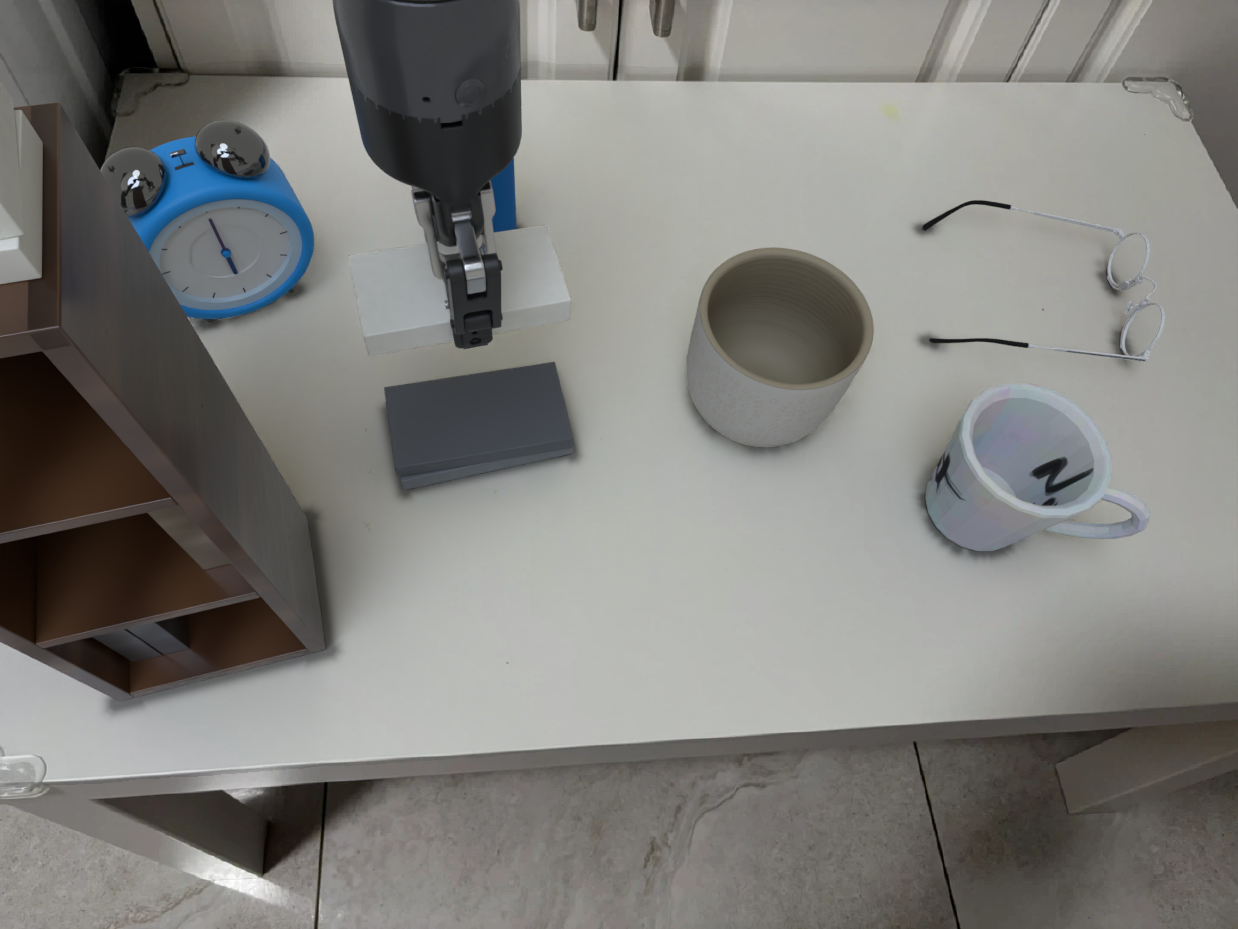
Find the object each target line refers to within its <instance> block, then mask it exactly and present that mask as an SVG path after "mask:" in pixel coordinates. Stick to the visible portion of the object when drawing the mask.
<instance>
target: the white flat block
mask: <svg viewBox="0 0 1238 929" xmlns="http://www.w3.org/2000/svg"><path fill="white" fill-rule="evenodd" d="M494 238H495V245H496V252H497V256H498V259H499V260H501V262H502V268H503V270H501V312H502V317H503V320H501V327H499V328H492V335H498V334H502V333H507V332H513V331H520V330H524V329H529V328H535V327H540V326H546V325H552V324H557V323H563V322H568V321H569V322H570V320H571V312H572V311H571V309H572V298H571V295H570V292H569V291H570V290H569V288H568V285H567V282H566V279H565V277H564V273H563V270H562V267H561V264H560V260H559V259H558V255H557V252H556V249H555V246H554V243H553V239H552V238H551V234H550V231H549V228H548V225H547V224H540V225H534V226H533V225H532V226H527V227H522V228H521V227H520V228H517V229H514V230H508V231H502V232H495V233H494ZM437 243H438V249H439V252H440V253H441V254H444V255H449V254H455V253H458V250H457V246H455V247H446V246H444V245H442V244H441V243H439V241H438V242H437ZM477 243H478V247H479V248H480V247H481V245H482V235H480V236H479V238H478V239H477ZM347 262H348V267H349V273H350V277H351V283H352V288H353V292H354V293H353V294H354V297H355V303H356V307H357V308H356V309H357V312H358V313H357V314H358V318H359V323H360V329H361V334H362V338H363V342H364V345H365V348H366V351H367V356H368V357H376V356H381V355H386V354H391V353H392V354H393V353H398V352H403V351H409V350H413V349H420V348H426V347H430V346H431V347H432V346H436V345H442V344H448V343H453V342H454V339H453V333H452V329H451V325H450V314H449V310H448V309H447V310H446V308H445V303H444V300H446V295H445V290H444V284H443V280H441V279H438V278H436V277H435V276H434V274H433V271H432V268H431V265H430V261H429V256H428V250H427V245H426V242H425V243H419V244H413V245H408V246H401V247H394V248H387V249H381V250H374V251H369V252H362V253H356V254H355V253H354V254H350V255H347Z"/></svg>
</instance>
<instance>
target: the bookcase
mask: <svg viewBox="0 0 1238 929" xmlns="http://www.w3.org/2000/svg"><path fill="white" fill-rule="evenodd" d="M14 110H22V111H23V113H24V115H25V116H26V118H27V119H28V121H29V122H30V124H31V125H32V127H33V128H34V130H35V132H36V133H37V135H38V136H39V138H40V139H41V141H42V142H43V188H42V277H41V278H38V279H32V280H26V281H19V282H13V283H6V284H0V643H1V644H3V645H5V646H7V647H9V648H11V649H14V650H15V651H17V652H19V653H21V654H24V655H26V656H28V657H29V658H31V659H34V660H35V661H37V662H39V663H41V664H43V665H45V666H48V667H49V668H51V669H54V670H55V671H58V673H59V672H60V673H61V674H63V675H65V676H68V677H70V678H71V679H72V680H73V679H74V680H76V681H78V682H80V683H82V684H84V685H86V686H87V687H90V688H91V689H94V690H96V691H97V692H100V693H101V694H103V695H105V696H107V697H110V698H111V699H114V700H116V701H117V702H123V701H126V700H131V699H134V698H139V697H142V696H147V695H151V694H155V693H158V692H162V691H167V690H170V689H175V688H178V687H182V686H186V685H190V684H194V683H195V684H196V683H199V682H202V681H206V680H210V679H214V678H215V679H216V678H219V677H223V676H226V675H229V674H230V675H231V674H234V673H238V672H242V671H247V670H250V669H255V668H259V667H262V666H266V665H270V664H275V663H279V662H282V661H286V660H291V659H295V658H298V657H302V656H306V655H310V654H314V653H319V652H322V651H325V650H326V649H327V646H326V639H325V633H324V626H323V617H322V612H321V604H320V598H319V589H318V583H317V574H316V568H315V562H314V555H313V547H312V540H311V533H310V525H309V519H308V517H307V515H306V513H305V511H304V510H303V509H302V507H301V505H300V503H299V502H298V500H297V498H296V497H295V495H294V494H293V492H292V490H291V489H290V487H289V485H288V483H287V482H286V480H285V478H284V476H283V475H282V473H281V472H280V470H279V468H278V466H277V465H276V464H275V461H274V460H273V458H272V456H271V454H270V453H269V452H268V451H269V450H267V448H266V446H265V444H264V443H263V441H262V440H261V438H260V436H259V434H258V433H257V431H256V430H255V428H254V426H253V425H252V423H251V421H250V420H249V418H248V416H247V415H246V413H245V411H244V410H243V408H242V407H241V404H240V403H239V401H238V399H237V398H236V396H235V394H234V393H233V391H232V389H231V388H230V386H229V383H228V382H227V381H226V379H225V378H224V376H223V374H222V372H221V371H220V369H219V368H218V366H217V364H216V363H215V361H214V359H213V357H212V356H211V354H210V353H209V351H208V349H207V348H206V345H205V344H204V342H203V341H202V339H201V338H200V336H199V334H198V332H197V331H196V329H195V327H194V326H193V324H192V322H191V320H190V319H189V317H187V316H186V314H185V312H184V311H183V309H182V307H181V306H180V304H179V302H178V300H177V299H176V297H175V295H174V294H173V292H172V290H171V289H170V287H169V285H168V284H167V282H166V280H165V279H164V277H163V275H162V274H161V272H160V270H159V269H158V267H157V265H156V264H155V262H154V260H153V259H152V257H151V255H150V254H149V252H148V250H147V248H146V247H145V245H144V243H143V242H142V240H141V238H140V237H139V235H138V233H137V232H136V230H135V228H134V227H133V225H132V223H131V222H130V220H129V218H128V217H127V215H126V213H125V212H124V210H123V208H122V207H121V205H120V203H119V201H118V200H117V198H116V196H115V195H114V193H113V191H112V190H111V188H110V186H109V185H108V183H107V181H106V180H105V178H104V176H103V175H102V173H101V171H100V170H101V169H100V168H99V166H98V164H97V163H96V162H95V160H94V157H93V156H92V154H91V153H90V151H89V149H88V147H87V146H86V144H85V142H84V141H83V140H82V138H81V136H80V135H79V132H78V131H77V129H76V127H75V126H74V124H73V122H72V120H71V119H70V117H69V116H68V114H67V113H66V111H65V109H64V107H63V105H62V104H61V102H59V101H55V102H46V103H38V104H37V103H36V104H30V105H21V106H14Z"/></svg>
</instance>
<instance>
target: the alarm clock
mask: <svg viewBox="0 0 1238 929" xmlns="http://www.w3.org/2000/svg"><path fill="white" fill-rule="evenodd" d="M99 170H100V171H101V173H102V175H103V176H104V178H105V180H106V181H107V183H108V185H109V186H110V188H111V190H112V191H113V193H114V195H115V196H116V198H117V200H118V201H119V203H120V205H121V207H122V208H123V210H124V212H125V213H126V215H127V217H128V218H129V220H130V222H131V223H132V225H133V227H134V228H135V230H136V232H137V233H138V235H139V237H140V238H141V240H142V242H143V243H144V245H145V247H146V248H147V250H148V252H149V254H150V255H151V257H152V259H153V260H154V262H155V264H156V265H157V267H158V269H159V270H160V272H161V274H162V275H163V277H164V279H165V280H166V282H167V284H168V285H169V287H170V289H171V290H172V292H173V294H174V295H175V297H176V299H177V300H178V302H179V304H180V306H181V307H182V309H183V311H184V312H185V314H186V316H187V317H188V318H191V319H196V320H207V323H208V324H212V323H213V321H214V320H223V319H230V318H235V317H240V316H243V315H247V314H250V313H253V312H256V311H259V310H261V309H264V308H265V307H267V306H269V305H271V304H273V303H274V302H276V301H278V300H279V299H281V298H282V297H284V296H285V295H286V294H287V293H290V294H293V293H294V292H295V290H294V289H293V288H294V287H295V286H296V285H297V284H298V283H299V282H300V280H301V279H302V278H303V277H304V275H305V273H306V272H307V270H308V268H309V267H310V264H311V261H312V259H313V255H314V253H315V252H314V251H315V233H314V229H313V225H312V223H311V220H310V218H309V216H308V214H307V212H306V211H305V209H304V207H303V205H302V203H301V202H300V200H299V198H298V196H297V194H296V192H295V191H294V189H293V187H292V185H291V183H290V182H289V180H288V178H287V176H286V175H285V173H284V171H283V170H282V168H281V167H280V165H279V164H277V162H276V161H275V160H274V158H272V157H271V153H270V150H269V147H268V145H267V142H266V141H265V139H264V138H262V136H261V135H260V134H259V133H258V132H257V131H255V130H254V129H253V128H251V127H249V126H248V125H246V124H244V123H242V122H238V121H235V120H230V119H218V120H212V121H210V122H208V123H206V124H204V125H203V126H202V127H201V128H200V129H199V131H198V132H197V134H196V136H188V137H182V138H179V139H175V140H171V141H168V142H165V143H162V144H160V145H158V146H156V147H153V148H151V149H149V148H146V147H141V146H126V147H123V148H120V149H118V150H116V151H114V152H113V153H111V154H110V155H109V156H108V157H107V158H106V159H105V161H104V162H103V163H102V165H101V167H100V169H99Z"/></svg>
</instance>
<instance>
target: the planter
mask: <svg viewBox="0 0 1238 929" xmlns="http://www.w3.org/2000/svg"><path fill="white" fill-rule="evenodd" d="M874 327H875V326H874V318H873V315H872V311H871V308H870V305H869V303H868V301H867V300H866V297H865V295H864V294H863V292H862V291H861V289H860V288H859V287H858V285H857V284H856V283H855V282H854V281H853V280H852V279H851V278H850V277H849V276H848V275H847V274H846V273H844V272H843V271H842V270H841V269H839V268H838V267H837V266H835V265H834V264H832V263H830V262H829V261H826V260H825V259H824V258H821V257H819V256H816V255H814V254H812V253H808V252H805V251H802V250H797V249H794V248H793V249H792V248H788V247H787V248H785V247H761V248H755V249H751V250H746V251H743V252H741V253H738V254H736V255H733V256H731V257H730V258H728V259H727V260H725V261H724V262H722V263H721V264H720V265H718V266H717V267H716V268H715V269H714V270H713V271H712V272H711V274H710V275H709V276H708V278H707V279H706V281H705V282H704V285H703V287H702V290H701V292H700V296H699V300H698V304H697V308H696V312H695V317H694V321H693V325H692V328H691V332H690V336H689V337H690V338H689V342H688V347H687V353H686V361H685V363H686V364H685V375H686V376H685V377H686V383H687V388H688V391H689V392H688V393H689V395H690V397H691V400H692V402H693V404H694V406H695V408H696V411H697V412H698V413H699V415H700V416H701V417H702V418H703V420H704V421H705V422H706V423H707V424H708V425H709V426H710V427H711V428H712V429H714V430H715V431H716V432H718V434H720V435H722V436H724V437H725V438H727V439H728V440H731V441H733V442H735V443H739V444H741V445H745V446H749V447H756V448H775V447H781V446H785V445H790V444H792V443H795V442H797V441H799V440H801V439H803V438H806V437H807V436H808V435H810V434H812V433H813V432H815V431H816V430H817V429H818V428H819V427H820V426H822V424H823V423H825V421H826V420H827V419H828V418H829V417H830V416H831V414H832V413H833V412H834V410H835V409H836V407H837V406H838V404H839V403H840V402H841V400H842V399H843V397H844V396H845V394H846V392H847V391H848V389H849V387H850V386H851V384H852V382H854V379H855V378H856V376H857V375H858V373H859V371H860V370H861V368H862V366H863V364H864V363H865V362H866V359H867V358H868V356H869V353H870V351H871V349H872V346H873V342H874V333H875V332H874V330H875V328H874Z"/></svg>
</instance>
